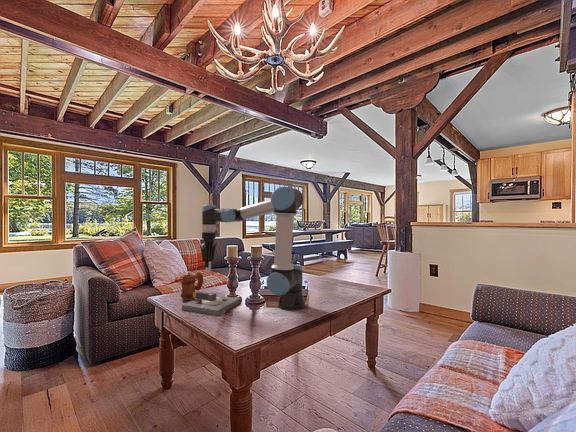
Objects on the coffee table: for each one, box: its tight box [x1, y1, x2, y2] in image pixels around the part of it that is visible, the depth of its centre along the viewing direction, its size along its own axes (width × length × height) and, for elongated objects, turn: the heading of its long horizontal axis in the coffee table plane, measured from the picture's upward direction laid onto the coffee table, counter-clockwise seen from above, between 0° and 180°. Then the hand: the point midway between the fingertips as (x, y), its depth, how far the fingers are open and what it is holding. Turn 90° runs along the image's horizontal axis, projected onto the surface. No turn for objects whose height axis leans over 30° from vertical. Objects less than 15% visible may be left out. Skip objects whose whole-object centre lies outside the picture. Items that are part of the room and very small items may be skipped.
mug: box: [180, 271, 204, 302], centre depth 172 cm, size 15×8×15 cm, turn 143°
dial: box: [193, 290, 223, 307], centre depth 160 cm, size 18×11×5 cm, turn 70°
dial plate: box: [181, 294, 241, 316], centre depth 159 cm, size 22×22×3 cm
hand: (208, 272), depth 167 cm, fingers closed
